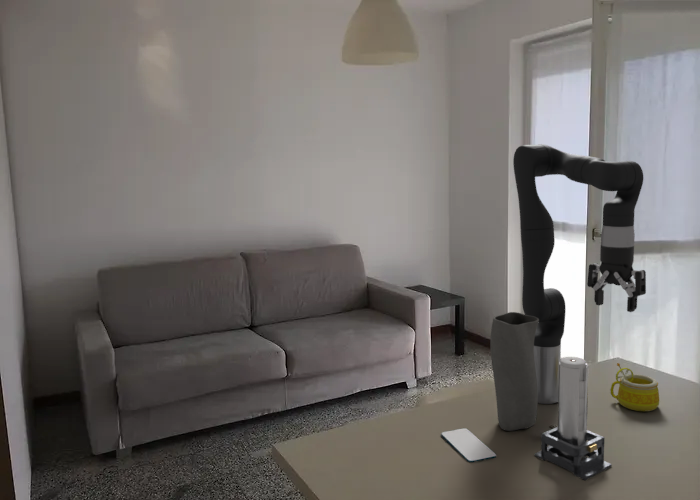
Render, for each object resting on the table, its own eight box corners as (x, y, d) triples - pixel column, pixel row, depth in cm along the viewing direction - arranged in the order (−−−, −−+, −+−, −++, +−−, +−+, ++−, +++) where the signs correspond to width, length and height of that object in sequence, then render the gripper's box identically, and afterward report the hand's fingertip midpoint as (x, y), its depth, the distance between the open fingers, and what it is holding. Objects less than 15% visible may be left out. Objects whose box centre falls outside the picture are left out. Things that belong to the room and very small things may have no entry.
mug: (660, 402, 172) (662, 362, 170) (656, 417, 163) (658, 375, 161) (613, 394, 179) (614, 356, 177) (606, 407, 170) (608, 367, 168)
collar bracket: (534, 455, 144) (534, 430, 143) (560, 443, 150) (560, 419, 149) (585, 480, 133) (585, 453, 132) (611, 466, 138) (612, 440, 137)
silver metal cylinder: (558, 466, 139) (560, 364, 135) (555, 453, 145) (557, 355, 141) (588, 468, 138) (591, 365, 134) (583, 455, 144) (586, 356, 140)
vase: (507, 439, 153) (508, 326, 149) (482, 420, 165) (482, 315, 160) (547, 431, 157) (549, 321, 152) (520, 413, 169) (521, 310, 164)
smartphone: (498, 459, 144) (466, 430, 160) (498, 455, 144) (466, 427, 159) (469, 465, 142) (439, 435, 157) (469, 461, 142) (439, 432, 157)
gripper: (654, 245, 142) (650, 311, 144) (600, 239, 153) (598, 300, 156) (635, 248, 138) (632, 316, 140) (582, 242, 149) (580, 305, 152)
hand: (614, 308), depth 148 cm, fingers open, 8 cm apart
